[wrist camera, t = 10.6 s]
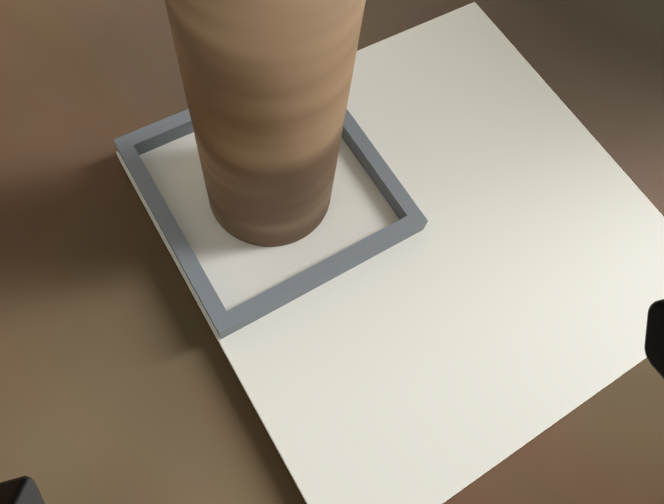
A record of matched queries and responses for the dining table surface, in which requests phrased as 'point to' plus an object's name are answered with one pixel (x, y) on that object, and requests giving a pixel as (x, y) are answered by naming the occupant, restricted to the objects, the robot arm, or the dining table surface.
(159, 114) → the dining table surface
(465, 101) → the build plate
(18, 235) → the dining table surface
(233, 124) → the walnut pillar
